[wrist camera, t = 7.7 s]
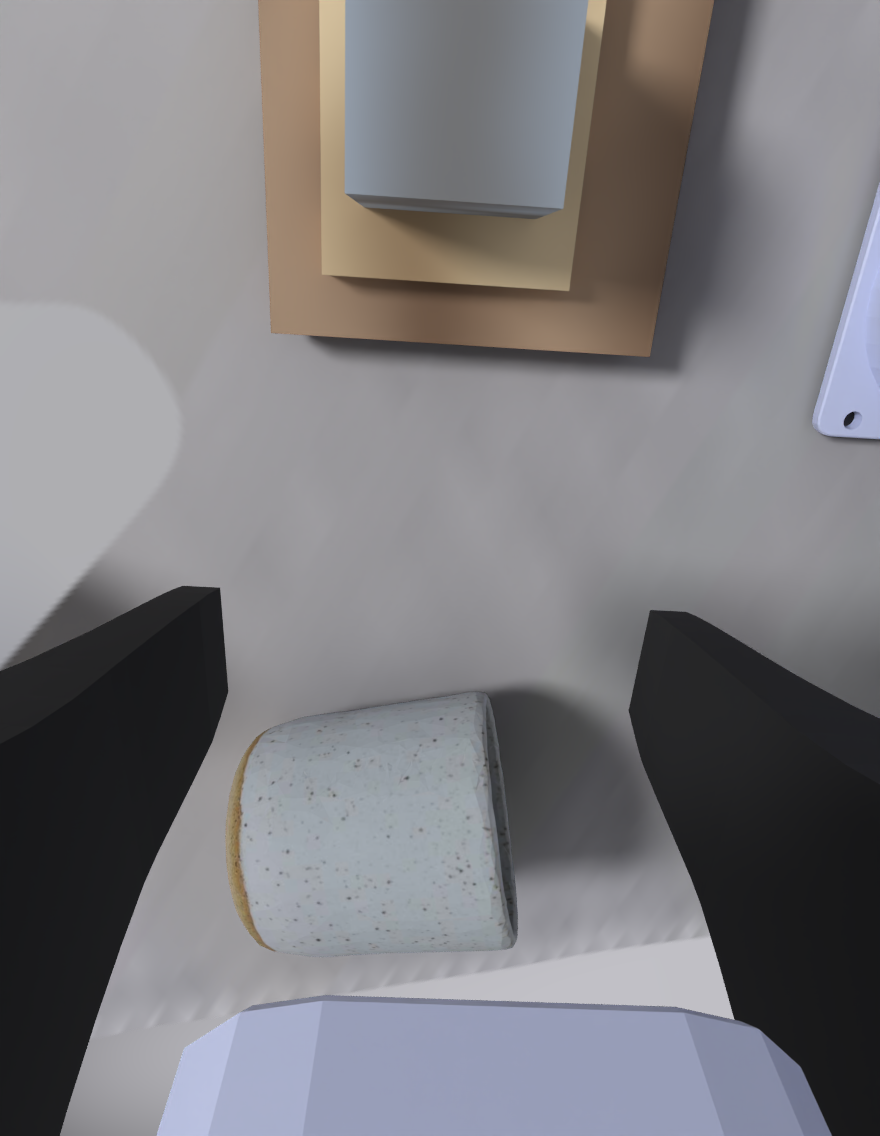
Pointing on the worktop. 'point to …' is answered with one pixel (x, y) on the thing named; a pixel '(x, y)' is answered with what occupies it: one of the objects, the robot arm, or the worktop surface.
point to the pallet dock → (606, 217)
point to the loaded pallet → (442, 235)
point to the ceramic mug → (375, 832)
